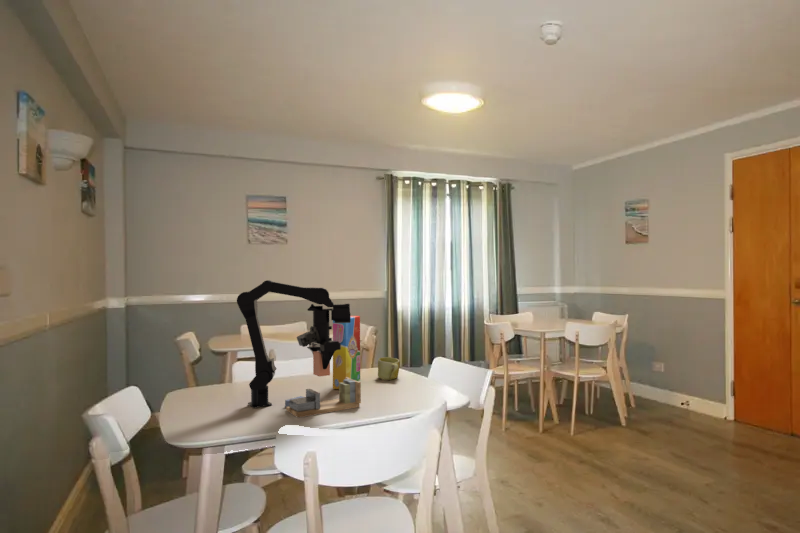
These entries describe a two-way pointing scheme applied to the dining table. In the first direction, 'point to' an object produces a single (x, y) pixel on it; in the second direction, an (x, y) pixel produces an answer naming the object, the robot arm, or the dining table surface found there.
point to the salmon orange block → (319, 365)
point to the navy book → (289, 399)
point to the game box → (346, 351)
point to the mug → (388, 368)
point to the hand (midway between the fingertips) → (321, 368)
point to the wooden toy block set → (337, 400)
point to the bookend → (306, 401)
